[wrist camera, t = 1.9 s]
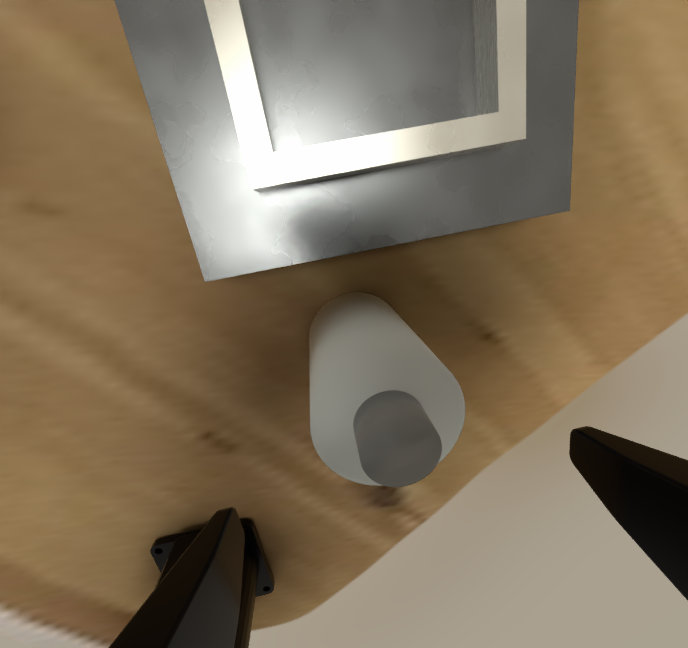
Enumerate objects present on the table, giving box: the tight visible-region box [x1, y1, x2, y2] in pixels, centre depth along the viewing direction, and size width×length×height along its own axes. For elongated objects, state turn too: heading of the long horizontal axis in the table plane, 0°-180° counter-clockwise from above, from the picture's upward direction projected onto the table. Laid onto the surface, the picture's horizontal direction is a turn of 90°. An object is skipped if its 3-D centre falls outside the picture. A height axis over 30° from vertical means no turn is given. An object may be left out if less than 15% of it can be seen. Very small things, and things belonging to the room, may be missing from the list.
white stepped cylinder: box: [309, 292, 465, 487], centre depth 14 cm, size 5×5×10 cm
